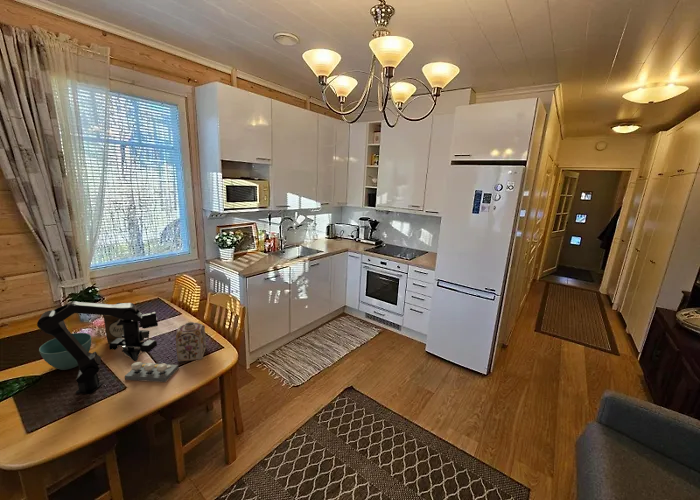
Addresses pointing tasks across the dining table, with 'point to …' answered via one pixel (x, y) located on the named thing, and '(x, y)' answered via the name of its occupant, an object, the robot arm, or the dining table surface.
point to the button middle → (149, 367)
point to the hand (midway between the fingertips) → (135, 361)
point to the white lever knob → (161, 368)
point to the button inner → (136, 366)
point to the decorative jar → (190, 342)
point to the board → (152, 374)
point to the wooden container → (112, 328)
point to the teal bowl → (63, 352)
